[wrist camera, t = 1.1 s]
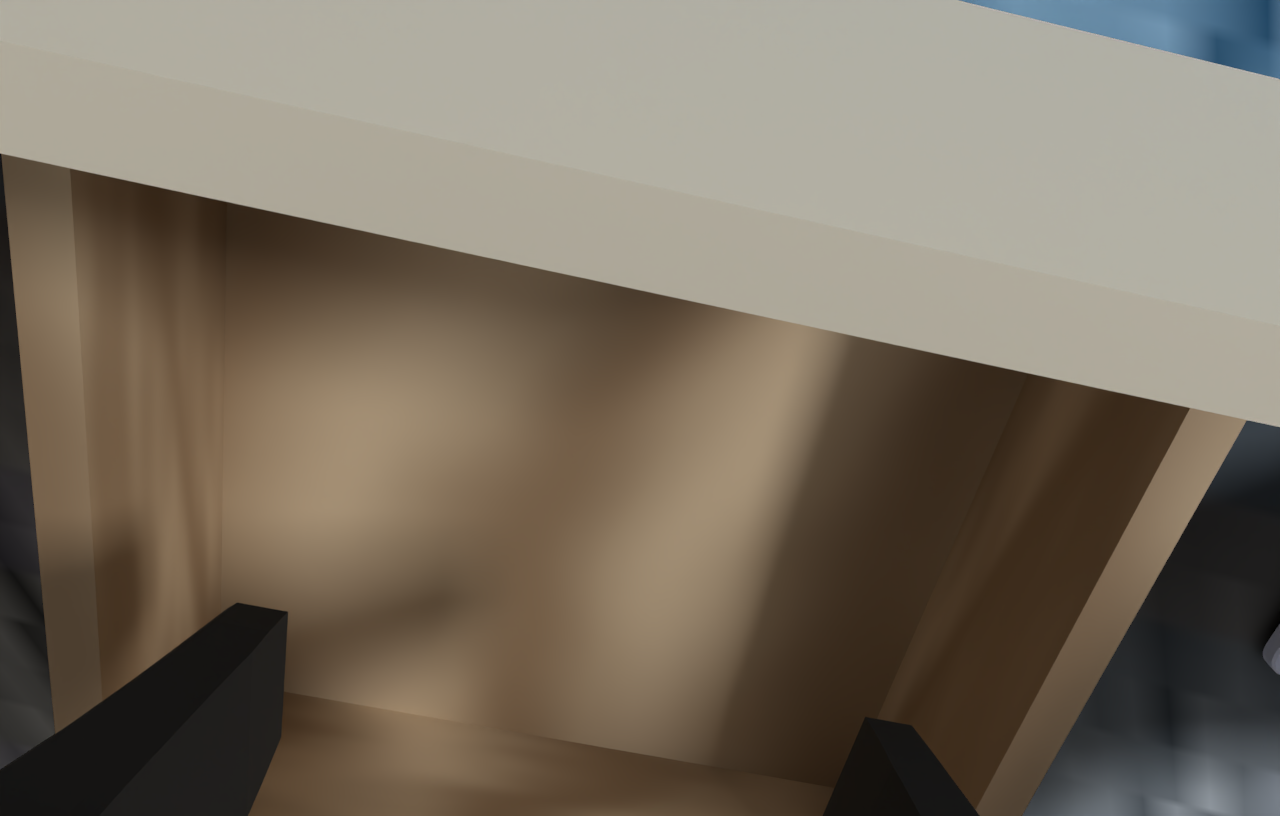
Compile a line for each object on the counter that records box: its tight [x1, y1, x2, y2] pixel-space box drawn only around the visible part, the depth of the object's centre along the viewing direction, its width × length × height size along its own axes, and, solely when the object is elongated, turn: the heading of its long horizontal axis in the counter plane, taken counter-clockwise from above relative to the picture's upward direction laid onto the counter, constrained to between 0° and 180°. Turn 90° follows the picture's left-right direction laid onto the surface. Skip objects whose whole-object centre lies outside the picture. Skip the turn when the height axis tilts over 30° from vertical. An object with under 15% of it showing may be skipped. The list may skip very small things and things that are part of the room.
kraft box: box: [1, 154, 1246, 816], centre depth 15 cm, size 16×16×5 cm
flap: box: [0, 0, 1280, 427], centre depth 7 cm, size 15×5×1 cm
